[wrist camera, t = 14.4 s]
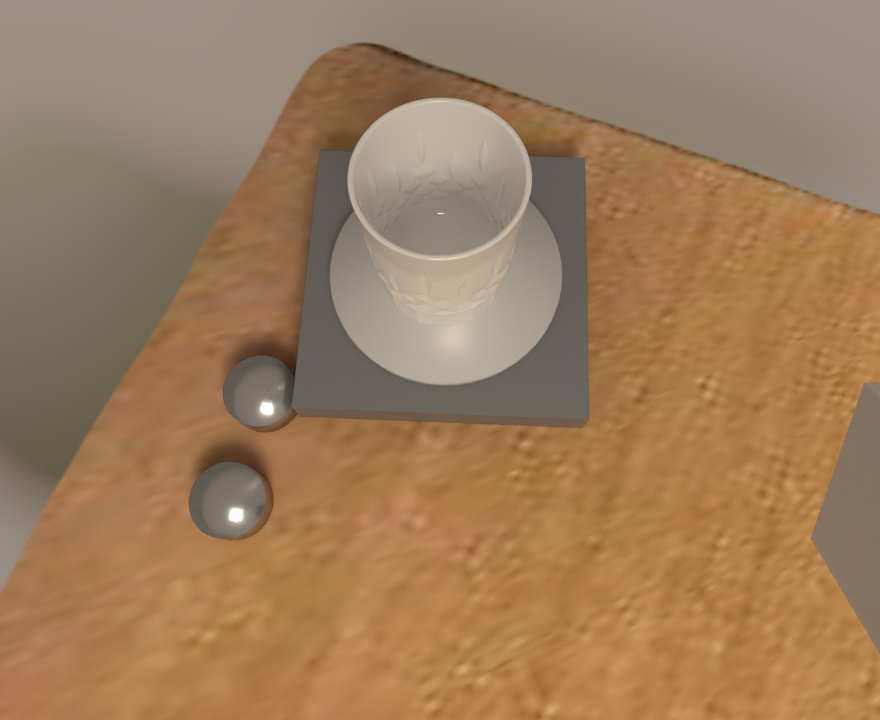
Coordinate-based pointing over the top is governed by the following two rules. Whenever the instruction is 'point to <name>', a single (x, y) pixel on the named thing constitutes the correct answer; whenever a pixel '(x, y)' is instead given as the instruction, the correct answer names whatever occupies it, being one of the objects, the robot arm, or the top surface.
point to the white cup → (440, 205)
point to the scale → (455, 347)
